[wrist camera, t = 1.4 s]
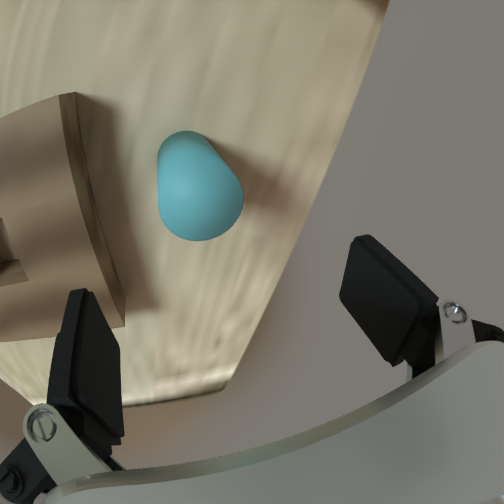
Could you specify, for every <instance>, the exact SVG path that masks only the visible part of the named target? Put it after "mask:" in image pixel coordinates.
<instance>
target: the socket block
mask: <svg viewBox="0 0 504 504" xmlns="http://www.w3.org/2000/svg"><path fill="white" fill-rule="evenodd" d="M0 218H2V220H3V223H4V226H5V228H6V231H7V233H8V236H9V238H10V241H11V243H12V245H13V248H14V250H15V252H16V254H17V257H18V259H17V260H13V261H9V262H5V263H1V264H0V342H9V341H20V340H30V339H39V338H48V337H56V336H57V334H58V333H59V332H60V330H61V325H62V321H63V316H64V312H65V308H66V304H67V300H68V296H69V293H70V291H71V290H76V289H82V288H87V289H88V291H89V292H90V291H92V292H93V293H94V295H95V297H96V299H97V301H98V304H99V306H100V308H101V310H102V312H103V314H104V316H105V318H106V320H107V323H108V325H109V327H110V329H113V328H119V327H125V295H124V292H123V290H122V287H121V284H120V282H119V279H118V276H117V273H116V271H115V268H114V265H113V262H112V259H111V256H110V253H109V250H108V246H107V243H106V240H105V237H104V233H103V230H102V227H101V223H100V220H99V216H98V212H97V208H96V205H95V201H94V197H93V193H92V188H91V184H90V180H89V175H88V171H87V166H86V161H85V155H84V150H83V144H82V139H81V132H80V126H79V119H78V111H77V102H76V93H75V92H72V93H66V94H61V95H57V96H54V97H51V98H48V99H45V100H43V101H40V102H37V103H35V104H32V105H30V106H27V107H25V108H22V109H20V110H17V111H15V112H13V113H11V114H8V115H6V116H4V117H2V118H0Z"/></svg>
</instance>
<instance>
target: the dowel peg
mask: <svg viewBox="0 0 504 504" xmlns="http://www.w3.org/2000/svg"><path fill="white" fill-rule="evenodd" d="M157 165H158V206H159V213H160V217H161V219H162V221H163V223H164V225H165V226H166V227H167V228H168V229H169V230H170V231H171V232H172V233H173V234H175V235H176V236H178V237H180V238H183V239H186V240H191V241H204V240H209V239H213V238H215V237H218V236H220V235H221V234H223V233H225V232H226V231H227V230H229V229H230V228H231V227H232V226H233V225H234V223H235V222H236V221H237V219H238V218H239V216H240V213H241V211H242V208H243V203H244V195H243V189H242V186H241V184H240V182H239V180H238V178H237V177H236V176H235V175H234V173H233V172H232V171H231V169H230V168H229V167H228V166H227V164H226V163H225V162H224V161H223V159H222V158H221V157H220V156H219V154H218V153H217V152H216V151H215V149H214V148H213V147H212V146H211V145H210V143H209V142H208V141H207V140H206V139H205V138H204V137H203V136H202V135H200V134H198V133H196V132H192V131H181V132H177V133H175V134H173V135H171V136H169V137H168V138H167V139H166V140H165V141H164V142H163V143H162V145H161V147H160V149H159V152H158V158H157Z"/></svg>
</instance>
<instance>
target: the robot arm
mask: <svg viewBox="0 0 504 504" xmlns="http://www.w3.org/2000/svg"><path fill="white" fill-rule="evenodd" d="M339 297H340V300H341V302H342V303H343V305H344V306H345V307H346V309H347V310H348V312H349V313H350V314H351V315H352V317H353V318H354V319H355V321H356V322H357V323H358V325H359V326H360V327H361V329H362V330H363V331H364V333H365V334H366V335H367V337H368V338H369V339H370V341H371V342H372V343H373V345H374V346H375V347H376V349H377V350H378V351H379V353H380V354H381V356H382V357H383V358H384V360H385V361H387V362H389V363H390V364H391V365H392V367H394V366H396V365H398V364H400V363H402V362H403V361H404V359H405V360H406V361H407V377H406V383H405V384H404V385H402V386H400V387H398V388H397V389H395V390H393V391H391V392H390V393H388V394H386V395H384V396H382V397H380V398H378V399H376V400H374V401H372V402H370V403H368V404H367V405H364V406H362V407H360V408H358V409H356V410H354V411H352V412H350V413H347V414H345V415H343V416H341V417H339V418H336V419H334V420H331V421H329V422H327V423H324V424H322V425H319V426H317V427H314V428H312V429H309V430H306V431H304V432H301V433H298V434H295V435H293V436H290V437H287V438H284V439H281V440H278V441H275V442H271V443H268V444H265V445H262V446H258V447H255V448H251V449H248V450H243V451H239V452H235V453H231V454H227V455H223V456H218V457H214V458H209V459H203V460H199V461H192V462H186V463H181V464H174V465H168V466H160V467H151V468H142V469H131V470H126V469H125V468H124V467H123V466H122V465H121V464H120V463H119V462H118V461H117V460H116V459H115V458H114V457H113V456H112V455H111V454H112V447H111V445H121V439H120V437H124V423H123V413H122V397H121V373H120V348H119V344H118V342H117V340H116V338H115V336H114V334H113V332H112V331H111V329H110V327H109V325H108V323H107V320H106V318H105V316H104V314H103V312H102V310H101V308H100V306H99V304H98V301H97V299H96V297H95V295H94V293H93V292H92V291H90V292H89V291H88V289H87V288H82V289H76V290H71V291H70V293H69V296H68V300H67V304H66V308H65V312H64V316H63V321H62V325H61V330H60V332H59V333H58V334H57V337H56V341H55V346H54V351H53V357H52V363H51V370H50V377H49V384H48V393H47V403H46V404H43V403H41V404H37V405H35V406H33V407H32V408H30V410H29V411H28V412H27V413H26V415H25V418H24V422H23V431H24V435H25V438H24V439H23V440H22V441H21V442H20V443H19V444H18V446H17V447H16V448H15V449H14V450H13V451H12V452H11V453H10V454H9V455H8V456H7V458H6V459H5V460H4V461H3V462H2V463H1V464H0V504H504V331H503V330H502V329H500V328H498V327H496V326H493V325H490V324H486V323H482V322H479V321H476V320H472V319H471V317H470V314H469V312H468V310H467V309H466V307H464V306H463V305H462V304H461V303H459V302H458V301H455V300H450V299H447V300H443V301H442V302H441V303H440V305H439V307H438V306H437V305H436V303H437V301H438V299H439V298H438V297H437V296H436V295H435V294H434V293H433V292H432V291H431V290H430V289H429V288H428V287H427V286H426V285H425V284H424V283H423V282H422V281H421V280H420V279H419V278H418V277H417V276H416V275H415V274H414V273H413V272H412V271H410V270H409V269H408V268H407V267H406V266H405V265H404V264H403V263H402V262H401V261H400V260H398V259H397V258H396V257H395V256H394V255H393V254H392V253H391V252H389V251H388V250H387V249H386V248H385V247H384V246H383V245H382V244H380V243H379V242H378V241H377V240H376V239H375V238H374V237H372V236H371V235H368V234H367V235H362V236H357V237H355V239H354V240H353V242H352V243H351V245H350V250H349V254H348V259H347V264H346V268H345V272H344V277H343V281H342V285H341V289H340V293H339Z"/></svg>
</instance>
